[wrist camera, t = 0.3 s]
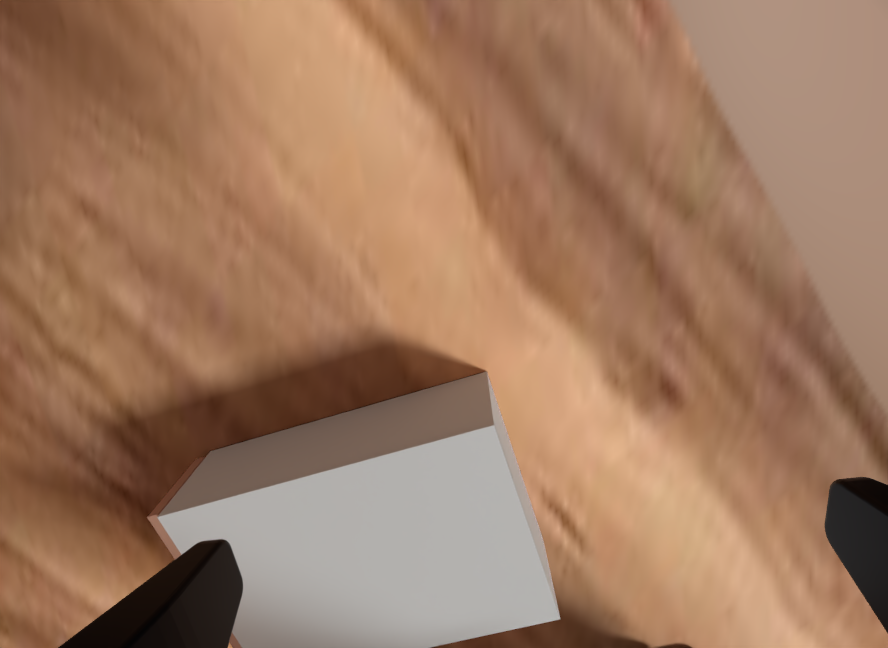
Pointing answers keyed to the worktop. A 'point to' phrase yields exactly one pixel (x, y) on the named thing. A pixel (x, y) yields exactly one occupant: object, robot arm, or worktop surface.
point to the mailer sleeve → (376, 526)
